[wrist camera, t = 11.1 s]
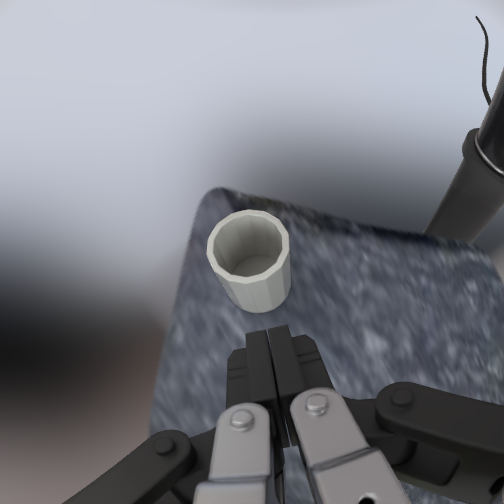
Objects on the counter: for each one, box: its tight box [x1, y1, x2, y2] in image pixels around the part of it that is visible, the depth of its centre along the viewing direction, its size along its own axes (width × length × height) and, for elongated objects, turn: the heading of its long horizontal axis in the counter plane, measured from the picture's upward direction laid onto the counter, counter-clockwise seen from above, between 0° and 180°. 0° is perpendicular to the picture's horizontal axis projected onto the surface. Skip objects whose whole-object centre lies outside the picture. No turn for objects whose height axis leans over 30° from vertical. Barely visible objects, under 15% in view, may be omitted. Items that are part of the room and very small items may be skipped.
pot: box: [207, 210, 291, 313], centre depth 26 cm, size 6×6×8 cm
